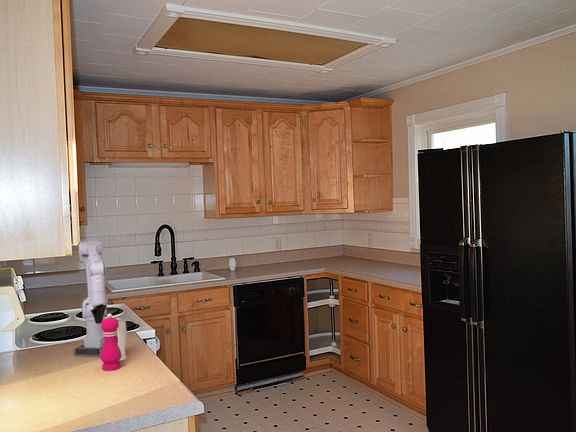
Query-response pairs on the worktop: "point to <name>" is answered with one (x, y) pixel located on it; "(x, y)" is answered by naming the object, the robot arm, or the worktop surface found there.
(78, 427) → the worktop surface
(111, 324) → the pepper mill
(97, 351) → the rack
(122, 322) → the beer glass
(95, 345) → the panel
